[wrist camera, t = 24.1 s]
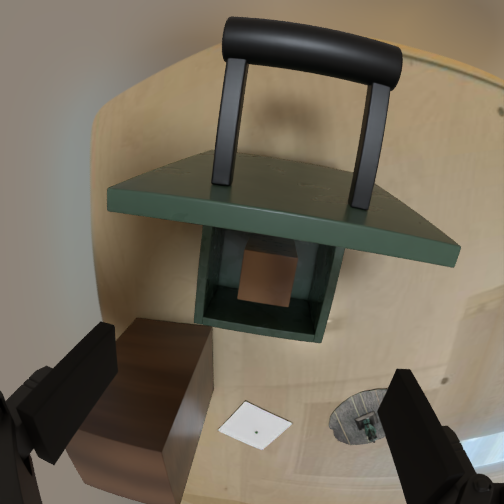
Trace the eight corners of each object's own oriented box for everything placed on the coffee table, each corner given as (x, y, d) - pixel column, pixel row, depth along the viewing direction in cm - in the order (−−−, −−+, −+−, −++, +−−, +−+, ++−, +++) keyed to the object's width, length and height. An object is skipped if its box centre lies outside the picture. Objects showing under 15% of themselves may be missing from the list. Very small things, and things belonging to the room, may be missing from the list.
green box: (312, 304, 36) (321, 343, 27) (212, 288, 36) (193, 323, 28) (337, 176, 32) (358, 178, 23) (228, 158, 32) (211, 154, 24)
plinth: (136, 317, 38) (50, 418, 19) (212, 326, 38) (161, 452, 18) (145, 379, 41) (84, 483, 21) (213, 389, 40) (178, 511, 21)
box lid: (454, 268, 9) (495, 64, 6) (106, 211, 9) (129, -2, 7) (358, 184, 23) (374, 96, 20) (210, 159, 24) (221, 70, 21)
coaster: (245, 401, 40) (244, 404, 39) (292, 423, 41) (292, 426, 40) (217, 430, 42) (216, 433, 41) (261, 450, 43) (261, 453, 42)
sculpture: (367, 449, 42) (349, 470, 36) (334, 412, 47) (312, 428, 41) (421, 406, 38) (411, 425, 32) (384, 367, 44) (368, 379, 37)
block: (246, 270, 35) (237, 299, 27) (252, 230, 33) (244, 249, 26) (286, 276, 34) (288, 307, 27) (293, 237, 33) (298, 258, 25)
